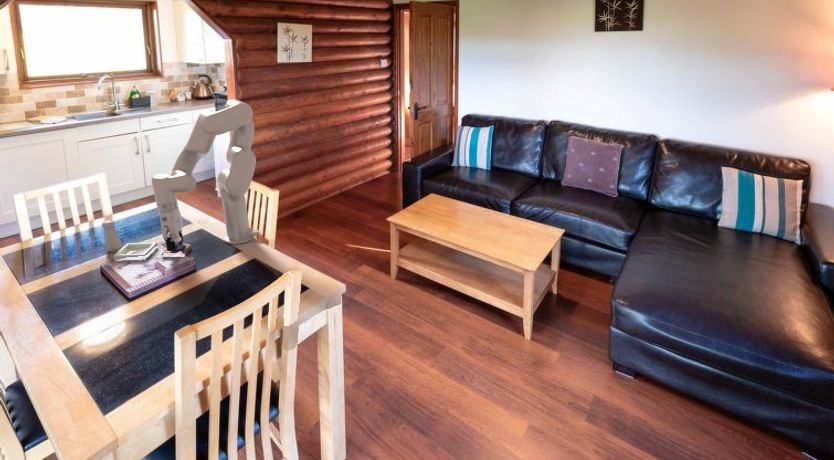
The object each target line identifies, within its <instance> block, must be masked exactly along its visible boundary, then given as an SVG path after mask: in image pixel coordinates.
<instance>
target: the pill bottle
mask: <svg viewBox="0 0 834 460" xmlns="http://www.w3.org/2000/svg"><path fill="white" fill-rule="evenodd" d="M168 234H171V233H168ZM168 237H170V238H171V236H168ZM173 241H174V242H175V247H176V250H169V251H170V252H179V251H183V250H184V248H183V244H184V243H183V242H182V238H181V237H179V232H178V233H177V234H176V235H174V234H173Z"/></svg>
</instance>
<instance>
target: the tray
mask: <svg viewBox="0 0 834 460" xmlns="http://www.w3.org/2000/svg"><path fill="white" fill-rule="evenodd" d="M157 245H158V242H157V241H156V242H155V241H154V242H133V243H131V242H130V243H128V242H127V243H126V244H125V245H123V247H122V246H121V249H120V250H119V251H117V252H115V254H113V260H114V261H115V260H118V259H121V258H126V257H138V256H145V255H147V254H148V253H149V252H150V251H151V250H152V249H153V248H154V247H156V246H157ZM145 248H148V249H147V250H146V251H145V252H144V253H143V254H131V253H133V252H135V251H138V250H141V249H145Z"/></svg>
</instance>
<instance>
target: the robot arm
mask: <svg viewBox="0 0 834 460" xmlns="http://www.w3.org/2000/svg"><path fill="white" fill-rule="evenodd" d="M253 117H254V111H253V108H252V107H251V106H250V105H249V104H248V103H246V102H244V101H241V100H239V99H229V100H228V101H226V103H225V104H224V108H223V109H221V110H219V111H213V110H204V111H202V112H201V113H200V114H199V115H198V117H197V119H196V121H195V124H194V125H193V128H192V130H191V132H190V133H191V134H190V136H189V139H188V140H187V142H186V145H185V146H184V147H183V149H182V151H181V152H180V153H179V155H178V156H177V159H176V161H175V163H174V166H173V168H172V170H171V173H170V174H166V173H163V174H156V175H154V176H153V177H151V185H152V189H153V194H154V199H155V204H156V209H157V212H159V222H160V227H161V232H162V238H163V240H164V242H165V245H166V248H167V250H168V251H169V250H176V247H175V242H174V241H173V234H174V235H176V234H177V233H178V232H179V237H181V238H182V243H183V242H184V237H183V230H182V229H183V227H184V224H183V218H182V214H181V212H180V208H179V203H178V199H177V198H178V197H177V193H190V192H192V191H193V190H194V189H195V188H197V187H196V186H197V180H196V178H195V177H194V176H193V172H194V170H195V168H196V165H197V164H198V163H199V161H200V160H201V159H203V158H205V157H206V156H207V155H208V154H209V153H210V151H211V149H212V146H213V144H214V142H215V139H216V137H217V136H220V135H224V134H227V133H229V132H231V137H230V141H229V144H228V147H227V151H226V155H225V157H226V160H227V163H228V164H229V165H230V167H228V168H224V169H222V170H221V171H220V172H219V173H218V176H217V187H218V190H219V193H220V198H221V204H222V211H223V216H224V223H225V229H226V235H225V236H224V237H223V241H224V243H227V244H231V245H241V244H245V243H249V242H250V241H253V239H254V238H255V236H260V235H261V232H260V230H259V229H252V226H250V222H249V216H248V210H247V209H248V207H247V201H246V194H247V192H248V191H249V189H250V187H251V184H252V180H253V177H254V173H255V169H256V165H257V157H256V155H255V153H254V152H253V151H252V145H253V141H254V136H255V124H254V120H253ZM169 233H171V234H169ZM169 236H171V238H170V237H169Z"/></svg>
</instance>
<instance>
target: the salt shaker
mask: <svg viewBox="0 0 834 460" xmlns="http://www.w3.org/2000/svg"><path fill="white" fill-rule="evenodd" d="M101 227H102V228H103V229H104V238H105V242H104V243H105V249H106V250H108V252H109V253H117V252H118V251H119V250H120V249H121V248H122V244H123V243H122V241H121V239H120V238H119V235H118V233H117V231H116V230H115V222H114V221H113V220H105V221H103V222H102V223H101Z"/></svg>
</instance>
